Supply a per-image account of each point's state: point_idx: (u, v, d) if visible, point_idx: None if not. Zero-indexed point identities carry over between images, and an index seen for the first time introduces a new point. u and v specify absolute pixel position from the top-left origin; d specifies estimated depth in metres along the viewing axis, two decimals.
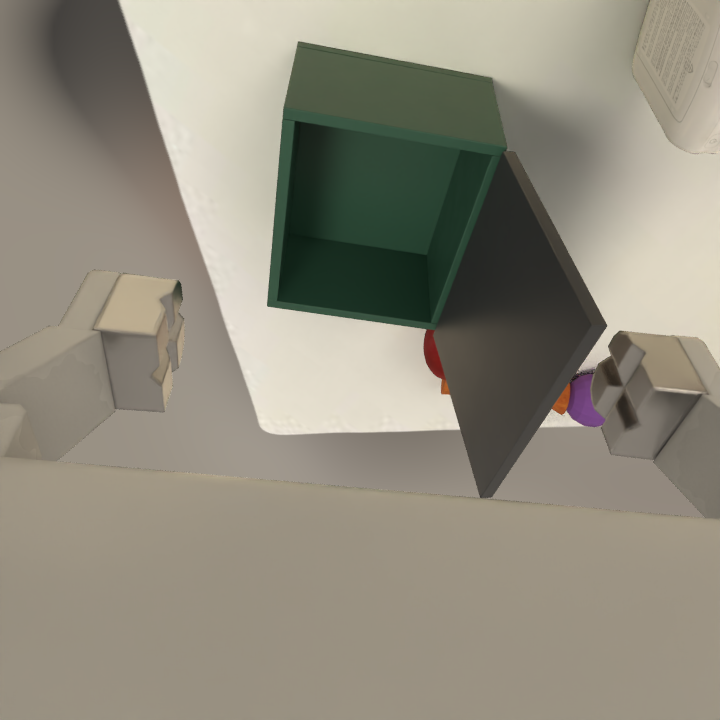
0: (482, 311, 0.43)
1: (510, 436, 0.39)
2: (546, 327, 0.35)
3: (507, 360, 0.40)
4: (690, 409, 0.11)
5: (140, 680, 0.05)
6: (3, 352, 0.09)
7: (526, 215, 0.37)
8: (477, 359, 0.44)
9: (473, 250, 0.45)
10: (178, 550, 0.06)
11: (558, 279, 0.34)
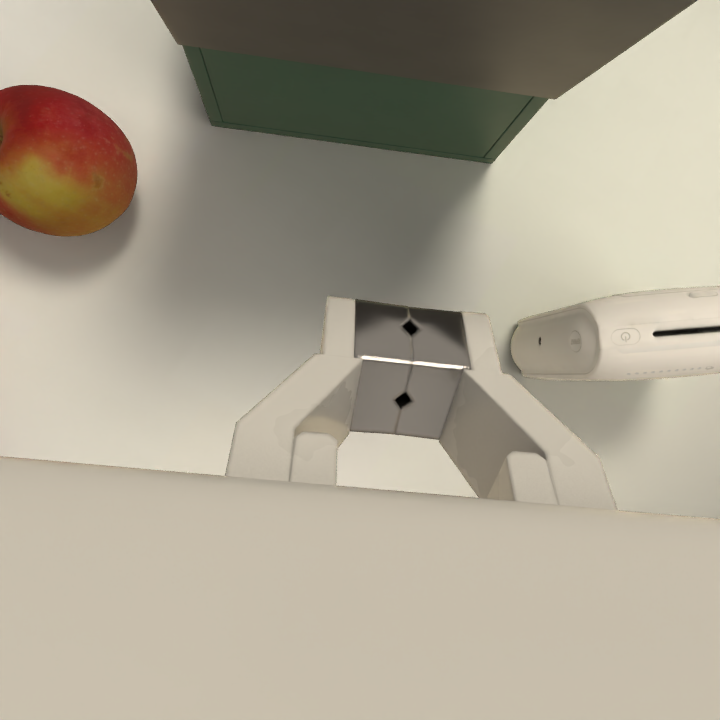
0: None
1: None
2: None
3: None
4: (456, 385, 0.10)
5: (140, 681, 0.05)
6: (289, 381, 0.09)
7: None
8: None
9: None
10: (178, 550, 0.06)
11: None
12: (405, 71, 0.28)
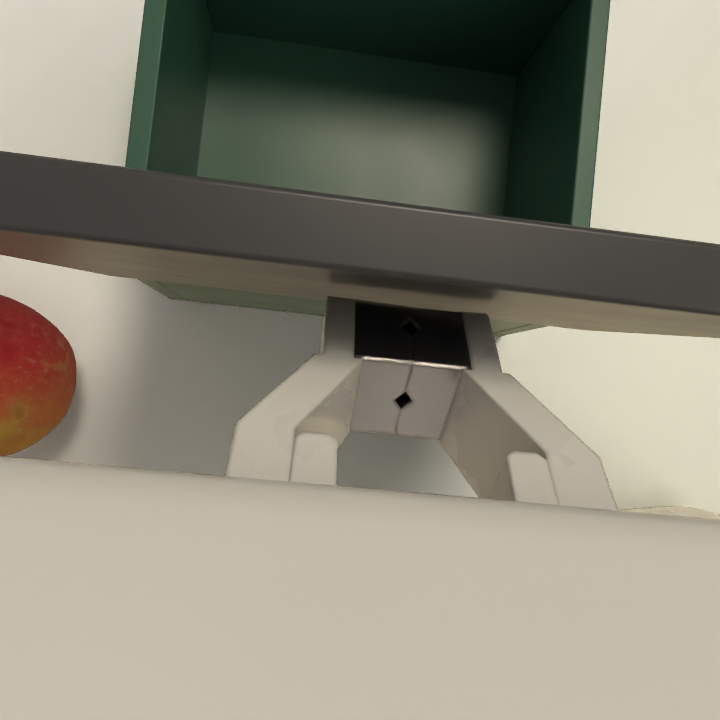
0: None
1: None
2: None
3: None
4: (457, 385, 0.10)
5: (140, 681, 0.05)
6: (289, 381, 0.09)
7: None
8: None
9: None
10: (178, 550, 0.06)
11: None
12: None
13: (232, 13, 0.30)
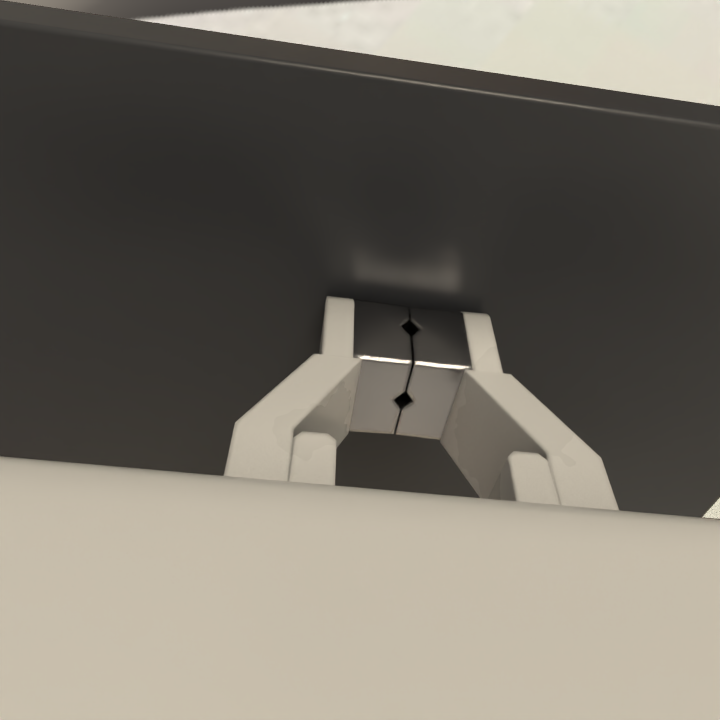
0: None
1: None
2: None
3: None
4: (458, 385, 0.10)
5: (140, 681, 0.05)
6: (288, 381, 0.09)
7: None
8: None
9: None
10: (178, 550, 0.06)
11: None
12: None
13: None
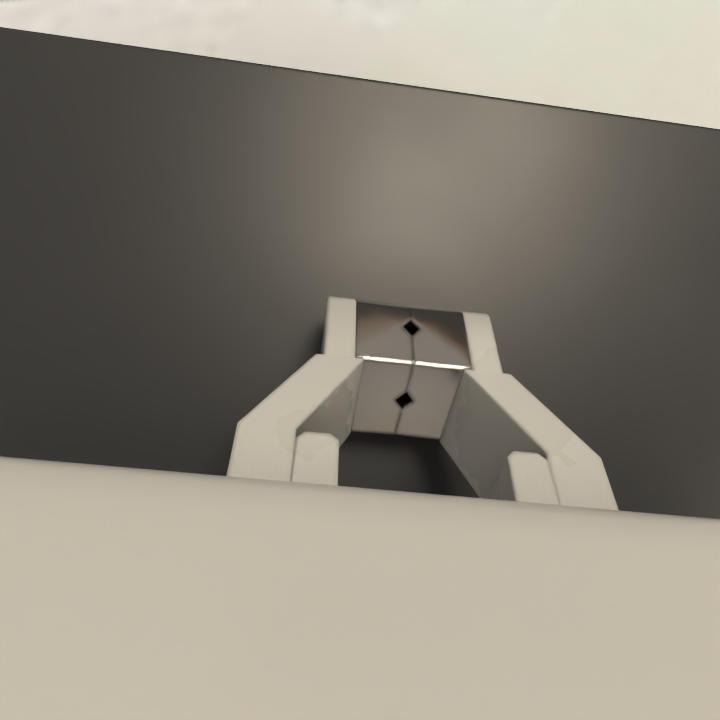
0: None
1: None
2: None
3: None
4: (457, 385, 0.10)
5: (139, 681, 0.05)
6: (291, 381, 0.09)
7: None
8: None
9: None
10: (178, 550, 0.06)
11: None
12: None
13: None
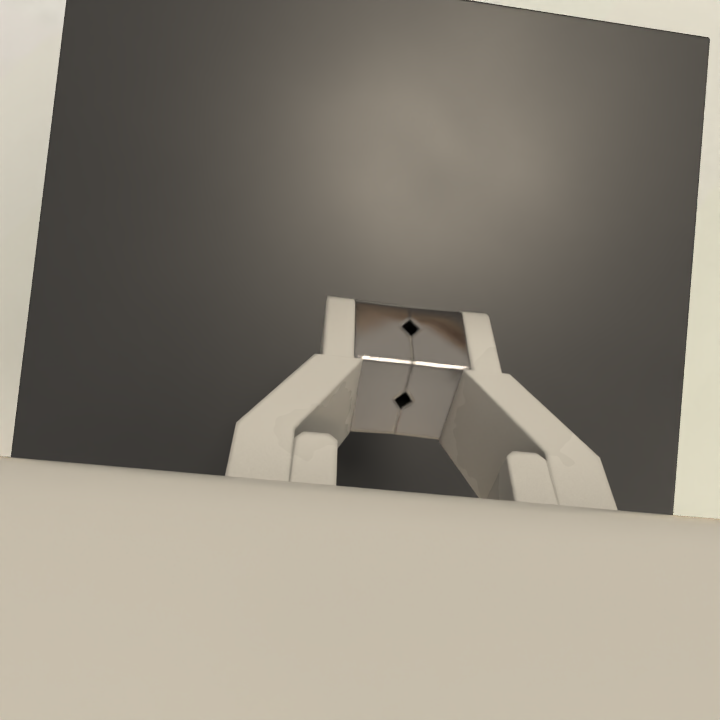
0: None
1: None
2: None
3: None
4: (457, 385, 0.10)
5: (139, 681, 0.05)
6: (289, 381, 0.09)
7: None
8: None
9: None
10: (178, 550, 0.06)
11: None
12: None
13: None
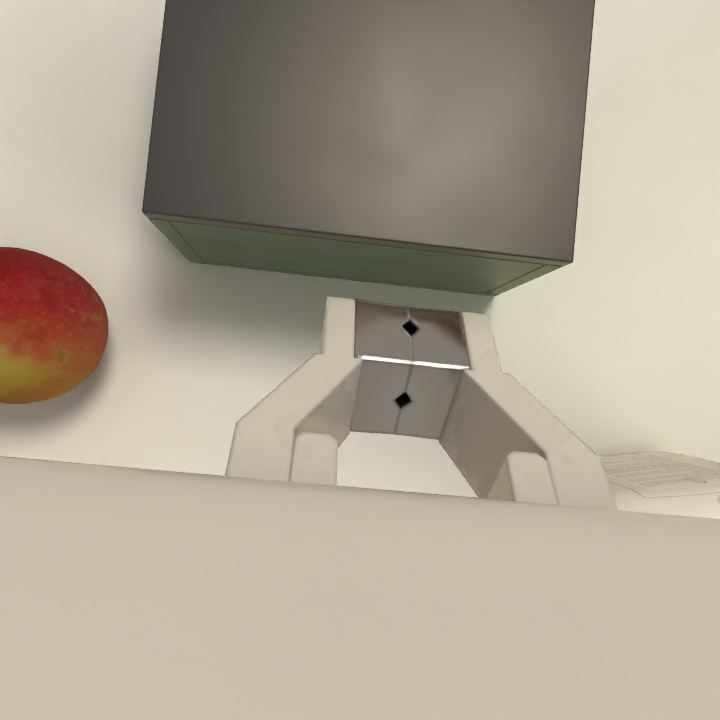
0: None
1: None
2: None
3: None
4: (456, 385, 0.10)
5: (140, 681, 0.05)
6: (289, 381, 0.09)
7: None
8: None
9: None
10: (178, 550, 0.06)
11: None
12: (401, 220, 0.26)
13: None
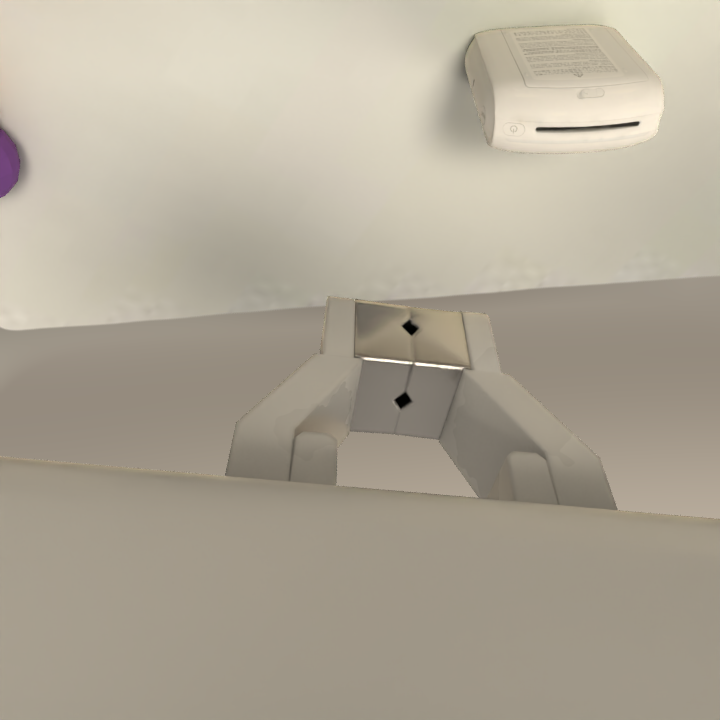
0: None
1: None
2: None
3: None
4: (456, 385, 0.10)
5: (139, 681, 0.05)
6: (289, 381, 0.09)
7: None
8: None
9: None
10: (178, 550, 0.06)
11: None
12: None
13: None
